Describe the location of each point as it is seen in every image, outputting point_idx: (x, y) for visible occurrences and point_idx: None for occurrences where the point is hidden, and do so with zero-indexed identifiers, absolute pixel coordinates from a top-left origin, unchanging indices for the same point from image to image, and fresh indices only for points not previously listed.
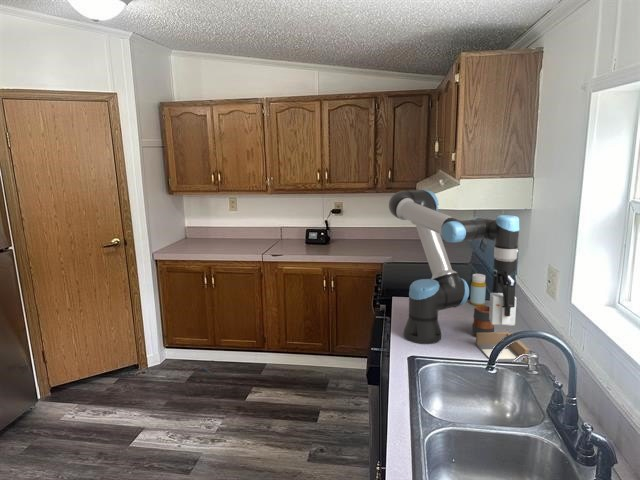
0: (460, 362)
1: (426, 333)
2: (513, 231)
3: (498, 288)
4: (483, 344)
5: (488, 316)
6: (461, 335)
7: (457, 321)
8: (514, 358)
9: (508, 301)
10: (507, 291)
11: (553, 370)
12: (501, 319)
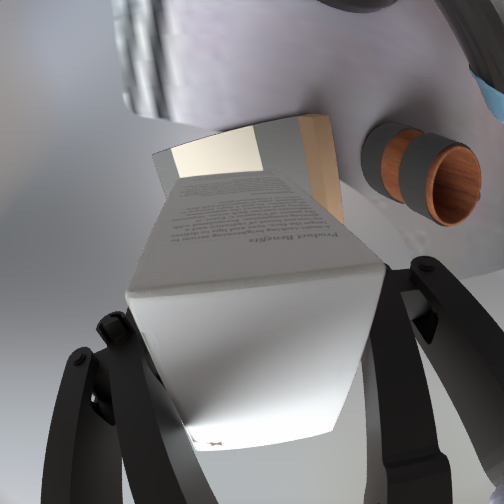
0: (134, 51)
1: None
2: None
3: (374, 413)
4: (302, 139)
5: (413, 190)
6: (379, 83)
7: (466, 111)
8: None
9: (60, 399)
10: (50, 487)
11: None
12: None
